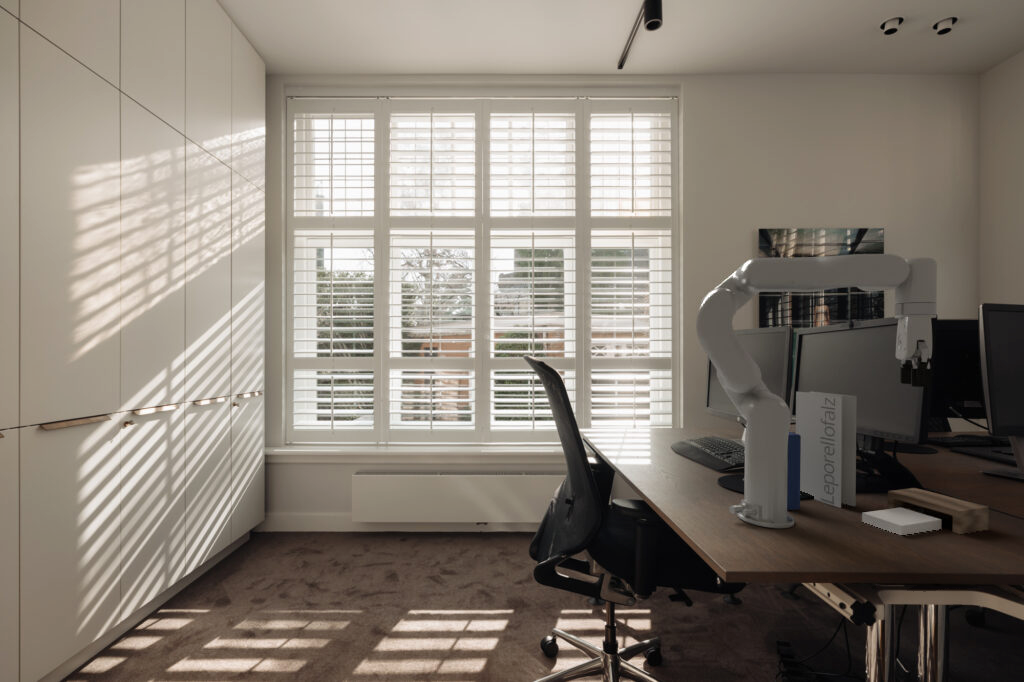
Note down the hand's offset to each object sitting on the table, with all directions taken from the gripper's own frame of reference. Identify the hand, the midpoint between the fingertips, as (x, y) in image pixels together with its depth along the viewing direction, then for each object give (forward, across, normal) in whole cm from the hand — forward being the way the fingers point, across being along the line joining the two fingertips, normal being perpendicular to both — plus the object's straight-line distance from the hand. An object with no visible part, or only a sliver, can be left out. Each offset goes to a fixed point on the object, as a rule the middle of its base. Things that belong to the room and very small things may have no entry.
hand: (914, 385), depth 113 cm
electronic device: (+35, -9, -27) cm, 45 cm away
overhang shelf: (+35, -14, +7) cm, 38 cm away
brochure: (+35, -21, -16) cm, 44 cm away
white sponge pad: (+35, -6, -1) cm, 35 cm away
